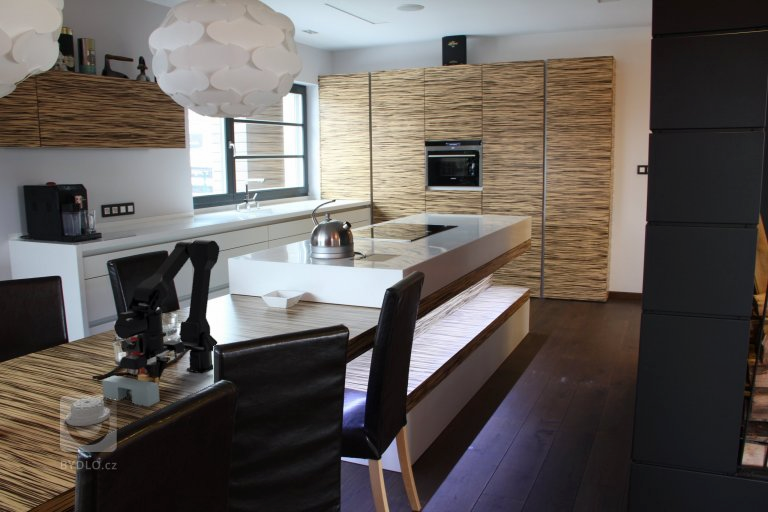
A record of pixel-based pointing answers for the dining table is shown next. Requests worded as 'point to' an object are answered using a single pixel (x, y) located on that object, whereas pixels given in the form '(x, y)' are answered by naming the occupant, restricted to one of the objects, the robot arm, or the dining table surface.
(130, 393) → the pin
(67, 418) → the mechanical component
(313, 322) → the dining table surface
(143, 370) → the soda can
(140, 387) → the block
